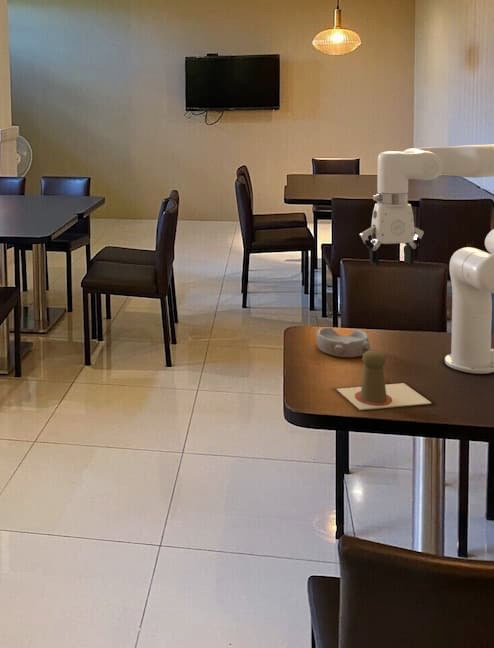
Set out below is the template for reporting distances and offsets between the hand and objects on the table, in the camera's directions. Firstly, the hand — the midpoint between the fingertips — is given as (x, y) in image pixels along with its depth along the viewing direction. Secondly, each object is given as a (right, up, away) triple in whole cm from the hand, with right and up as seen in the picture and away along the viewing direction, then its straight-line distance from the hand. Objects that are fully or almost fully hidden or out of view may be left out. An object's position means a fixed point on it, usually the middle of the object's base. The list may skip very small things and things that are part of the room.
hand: (391, 263), depth 192 cm
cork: (-11, -30, -17) cm, 36 cm away
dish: (-8, -28, +16) cm, 33 cm away
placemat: (-8, -30, -15) cm, 34 cm away
